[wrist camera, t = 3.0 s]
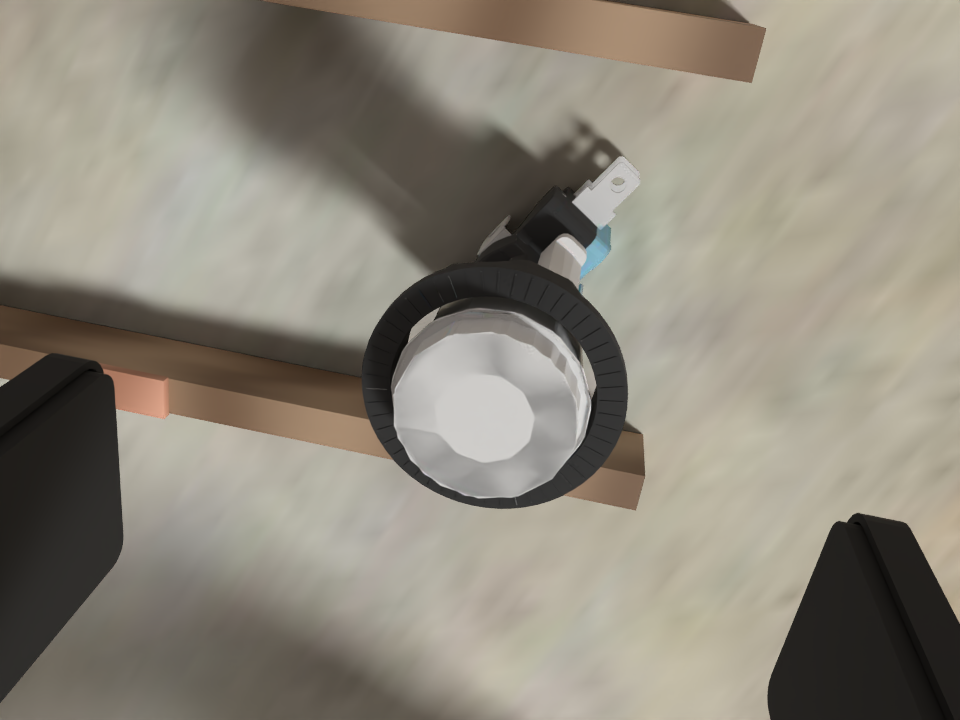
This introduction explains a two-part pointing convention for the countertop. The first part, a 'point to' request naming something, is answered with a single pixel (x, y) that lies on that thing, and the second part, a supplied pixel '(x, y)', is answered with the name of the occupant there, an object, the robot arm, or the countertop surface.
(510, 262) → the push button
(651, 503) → the countertop surface
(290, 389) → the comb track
